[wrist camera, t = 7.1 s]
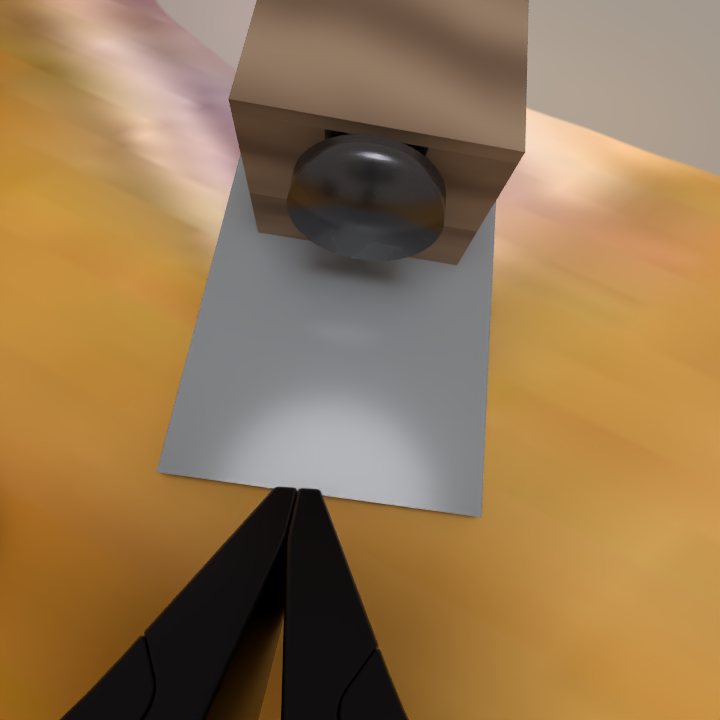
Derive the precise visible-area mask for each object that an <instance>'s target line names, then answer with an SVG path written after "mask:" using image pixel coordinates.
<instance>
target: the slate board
mask: <svg viewBox="0 0 720 720" xmlns="http://www.w3.org/2000/svg"><path fill="white" fill-rule="evenodd" d="M495 209H496V201H495V203H494V205H493V206H492V208H491V210H490V211H489V213H488V215H487V216H486V218H485V220H484V221H483V223H482V225H481V226H480V228H479V230H478V231H477V233H476V235H475V236H474V238H473V240H472V241H471V243H470V245H469V246H468V248H467V250H466V251H465V253H464V255H463V256H462V258H461V260H460V261H459V263H458V265H452V264H446V263H440V262H434V261H428V260H422V259H416V258H410V257H406V258H402V259H397V260H390V261H367V260H359V259H354V258H349V257H345V256H341V255H338V254H336V253H333V252H330V251H328V250H326V249H324V248H322V247H320V246H318V245H316V244H315V243H313V242H312V241H307V240H301V239H295V238H289V237H283V236H277V235H271V234H265V233H259V232H258V229H257V225H256V220H255V216H254V211H253V207H252V202H251V198H250V193H249V189H248V184H247V180H246V175H245V171H244V166H243V162H242V157H241V154H240V158H239V162H238V166H237V169H236V173H235V177H234V181H233V185H232V188H231V192H230V196H229V200H228V204H227V207H226V211H225V215H224V219H223V223H222V226H221V230H220V234H219V238H218V242H217V245H216V249H215V253H214V257H213V260H212V264H211V268H210V272H209V276H208V279H207V283H206V287H205V291H204V295H203V298H202V302H201V306H200V310H199V314H198V317H197V321H196V325H195V329H194V333H193V336H192V340H191V344H190V348H189V352H188V355H187V359H186V363H185V367H184V370H183V374H182V378H181V382H180V386H179V389H178V393H177V397H176V401H175V405H174V408H173V412H172V416H171V420H170V424H169V427H168V431H167V435H166V439H165V443H164V446H163V450H162V454H161V458H160V461H159V465H158V469H157V472H158V473H164V474H172V475H179V476H186V477H193V478H200V479H208V480H215V481H222V482H229V483H236V484H244V485H251V486H258V487H265V488H272V489H274V488H275V487H278V486H281V487H294V488H296V489H297V491H298V490H299V489H300V488H311V489H319V490H320V491H321V493H322V495H323V496H330V497H337V498H344V499H352V500H359V501H366V502H373V503H380V504H388V505H395V506H402V507H409V508H416V509H424V510H431V511H438V512H445V513H452V514H460V515H467V516H474V517H481V514H482V492H483V470H484V449H485V427H486V405H487V383H488V361H489V340H490V318H491V296H492V274H493V252H494V230H495Z"/></svg>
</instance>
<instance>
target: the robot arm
mask: <svg viewBox="0 0 720 720" xmlns="http://www.w3.org/2000/svg"><path fill="white" fill-rule="evenodd" d="M283 619H284V634H283V670H282V706H281V720H409V719H408V717H407V715H406V712H405V710H404V708H403V706H402V703H401V701H400V698H399V696H398V693H397V691H396V688H395V686H394V684H393V681H392V679H391V676H390V674H389V671H388V669H387V666H386V663H385V661H384V658H383V655H382V653H381V650H380V649H378V643H377V640H376V637H375V635H374V632H373V629H372V627H371V624H370V621H369V619H368V616H367V613H366V611H365V608H364V605H363V603H362V600H361V597H360V595H359V592H358V589H357V587H356V584H355V581H354V579H353V576H352V573H351V571H350V568H349V565H348V563H347V560H346V557H345V555H344V552H343V549H342V547H341V544H340V541H339V539H338V536H337V533H336V531H335V528H334V525H333V523H332V520H331V517H330V515H329V512H328V509H327V507H326V504H325V501H324V499H323V496H322V493H321V491H320V490H319V489H311V488H300V489H299V490H298V491H297V489H296V488H294V487H281V486H278V487H275V488H274V489H273V490H272V491H271V492H270V493H269V494H268V495H267V497H266V498H265V499H264V500H263V501H262V502H261V503H260V504H259V505H258V507H257V508H256V509H255V510H254V511H253V512H252V513H251V514H250V515H249V517H248V518H247V519H246V520H245V521H244V522H243V523H242V524H241V525H240V526H239V528H238V529H237V530H236V531H235V532H234V533H233V534H232V535H231V536H230V538H229V539H228V540H227V541H226V542H225V543H224V544H223V545H222V546H221V547H220V549H219V550H218V551H217V552H216V553H215V554H214V555H213V556H212V557H211V559H210V560H209V561H208V562H207V563H206V564H205V565H204V566H203V567H202V569H201V570H200V571H199V572H198V573H197V574H196V575H195V576H194V577H193V578H192V580H191V581H190V582H189V583H188V584H187V585H186V586H185V587H184V588H183V590H182V591H181V592H180V593H179V594H178V595H177V596H176V597H175V598H174V599H173V601H172V602H171V603H170V604H169V605H168V606H167V607H166V608H165V609H164V611H163V612H162V613H161V614H160V615H159V616H158V617H157V618H156V619H155V621H154V622H153V623H152V624H151V625H150V626H149V627H148V628H147V629H146V630H145V633H144V634H145V636H140V637H139V638H138V639H137V640H136V641H135V642H134V643H133V645H132V646H131V647H130V648H129V649H128V650H127V651H126V652H125V653H124V655H123V656H122V657H121V658H120V659H119V660H118V661H117V662H116V663H115V664H114V665H113V666H112V667H111V668H110V670H109V671H108V672H107V673H106V674H105V675H104V676H103V677H102V678H101V679H100V680H99V681H98V682H97V683H96V684H95V685H94V686H93V687H92V689H91V690H90V691H89V692H88V693H87V694H86V695H85V696H84V697H83V698H82V699H81V700H79V701H78V702H77V703H76V704H75V705H74V706H73V707H72V708H71V709H70V710H69V711H68V712H67V713H66V714H65V715H64V716H63V717H62V718H61V719H60V720H258V718H259V714H260V710H261V706H262V702H263V698H264V694H265V690H266V686H267V683H268V679H269V675H270V671H271V667H272V663H273V659H274V655H275V651H276V647H277V643H278V639H279V635H280V631H281V627H282V623H283Z"/></svg>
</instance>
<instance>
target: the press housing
mask: <svg viewBox="0 0 720 720" xmlns="http://www.w3.org/2000/svg"><path fill="white" fill-rule="evenodd" d="M528 2H529V1H528V0H257V2H256V5H255V9H254V12H253V16H252V19H251V23H250V26H249V29H248V33H247V37H246V40H245V43H244V47H243V50H242V54H241V58H240V61H239V64H238V68H237V71H236V75H235V78H234V82H233V85H232V89H231V92H230V96H229V103H230V107H231V112H232V117H233V121H234V126H235V130H236V135H237V139H238V144H239V148H240V153H241V157H242V162H243V166H244V171H245V175H246V180H247V184H248V189H249V193H250V198H251V202H252V207H253V211H254V216H255V220H256V225H257V229H258V232H259V233H265V234H271V235H277V236H283V237H289V238H295V239H301V240H307V241H310V240H309V239H308V238H306V237H305V236H304V235H303V234H302V233H301V232H300V231H299V230H298V229H297V228H296V226H295V225H294V224H293V222H292V220H291V219H290V216H289V214H288V210H287V197H288V192H289V188H290V183H291V178H292V174H293V169H294V167H295V164H296V162H297V161H298V159H299V158H300V156H301V155H302V154H303V153H304V152H305V151H306V150H307V149H309V148H310V147H312V146H313V145H315V144H317V143H319V142H321V141H323V140H326V139H329V138H332V137H337V136H342V135H351V134H367V135H375V136H381V137H385V138H389V139H393V140H395V141H398V142H401V143H403V144H406V145H408V146H410V147H412V148H413V149H415V150H417V151H418V152H420V153H421V154H423V155H424V156H425V157H426V158H428V159H429V160H430V161H431V162H432V163H433V164H434V165H435V166H436V168H437V169H438V171H439V172H440V174H441V176H442V178H443V180H444V183H445V186H446V206H445V218H444V227H443V230H442V232H441V234H440V236H439V238H438V239H437V240H436V241H435V242H434V243H433V244H432V245H431V246H430V247H428V248H427V249H425V250H424V251H422V252H420V253H418V254H416V255H413V256H410V258H416V259H422V260H428V261H434V262H440V263H446V264H452V265H458V263H459V261H460V260H461V258H462V256H463V255H464V253H465V251H466V250H467V248H468V246H469V245H470V243H471V241H472V240H473V238H474V236H475V235H476V233H477V231H478V230H479V228H480V226H481V225H482V223H483V221H484V220H485V218H486V216H487V215H488V213H489V211H490V210H491V208H492V206H493V205H494V203H495V201H496V200H497V198H498V196H499V195H500V193H501V191H502V190H503V188H504V186H505V185H506V183H507V181H508V180H509V178H510V176H511V175H512V173H513V171H514V170H515V168H516V166H517V165H518V163H519V161H520V160H521V158H522V156H523V155H524V153H525V132H526V87H527V44H528Z"/></svg>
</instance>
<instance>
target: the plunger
mask: <svg viewBox="0 0 720 720" xmlns="http://www.w3.org/2000/svg"><path fill="white" fill-rule="evenodd" d="M445 206H446V186H445V183H444V180H443V178H442V176H441V174H440V172H439V171H438V169H437V168H436V166H435V165H434V164H433V163H432V162H431V161H430V160H429V159H428V158H426V157H425V156H424V155H423V154H421V153H420V152H418V151H417V150H415V149H413V148H412V147H410V146H408V145H406V144H403V143H401V142H398V141H395V140H393V139H389V138H385V137H381V136H375V135H367V134H351V135H342V136H337V137H332V138H329V139H326V140H323V141H321V142H319V143H317V144H315V145H313V146H312V147H310V148H309V149H307V150H306V151H305V152H304V153H303V154H302V155H301V156H300V158H299V159H298V161H297V162H296V164H295V167H294V169H293V174H292V178H291V183H290V188H289V192H288V197H287V210H288V214H289V216H290V219H291V220H292V222H293V224H294V225H295V226H296V228H297V229H298V230H299V231H300V232H301V233H302V234H303V235H304V236H305V237H306V238H308V239H309V240H310V241H312V242H313V243H315V244H316V245H318V246H320V247H322V248H324V249H326V250H328V251H330V252H333V253H336V254H338V255H341V256H345V257H349V258H354V259H359V260H367V261H390V260H397V259H402V258H406V257H410V256H413V255H416V254H418V253H420V252H422V251H424V250H425V249H427V248H428V247H430V246H431V245H432V244H433V243H434V242H435V241H436V240H437V239H438V238H439V236H440V234H441V232H442V230H443V227H444V218H445Z"/></svg>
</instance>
